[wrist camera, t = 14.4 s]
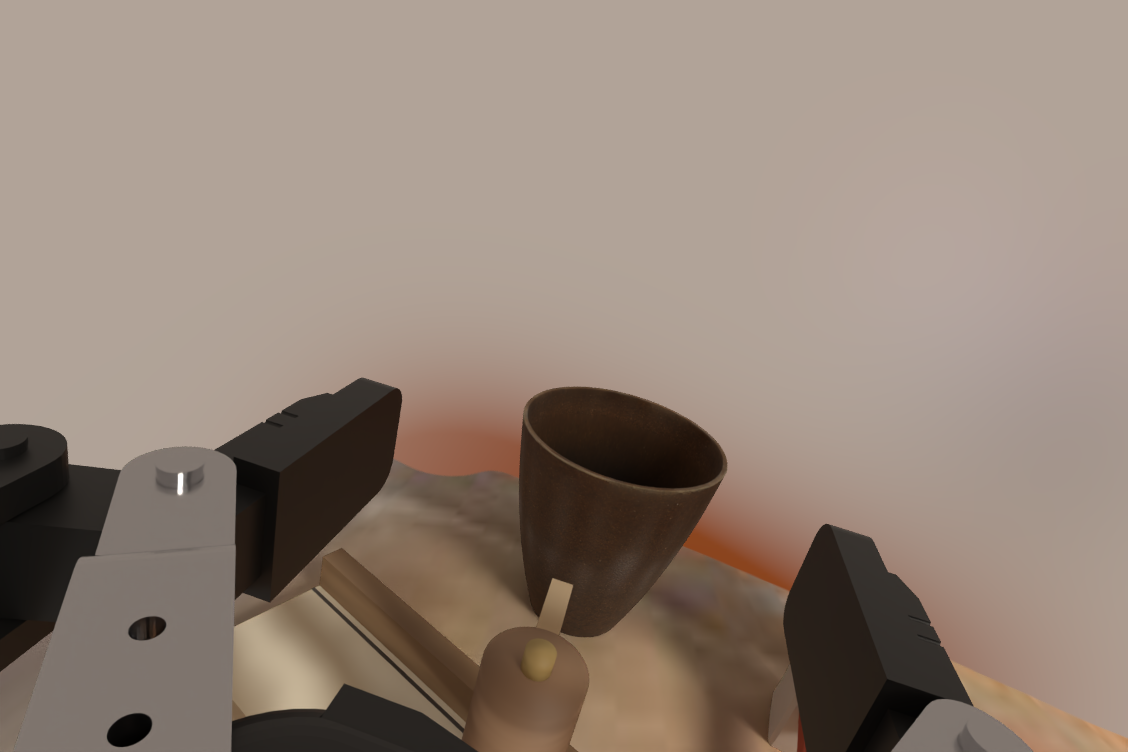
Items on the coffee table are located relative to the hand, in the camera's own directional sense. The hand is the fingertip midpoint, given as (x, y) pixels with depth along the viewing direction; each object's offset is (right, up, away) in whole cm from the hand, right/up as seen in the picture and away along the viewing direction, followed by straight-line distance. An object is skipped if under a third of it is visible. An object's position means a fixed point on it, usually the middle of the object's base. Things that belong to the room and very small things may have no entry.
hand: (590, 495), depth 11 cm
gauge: (-4, -20, +22) cm, 30 cm away
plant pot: (0, -16, +38) cm, 42 cm away
